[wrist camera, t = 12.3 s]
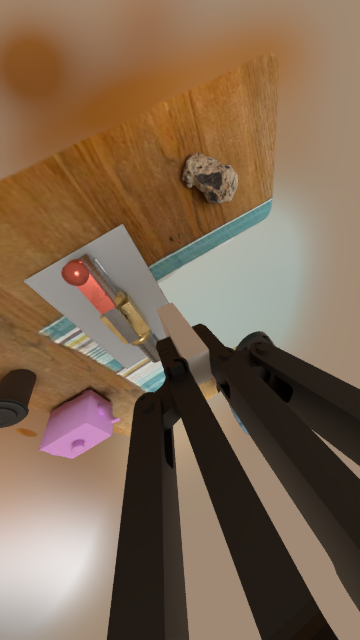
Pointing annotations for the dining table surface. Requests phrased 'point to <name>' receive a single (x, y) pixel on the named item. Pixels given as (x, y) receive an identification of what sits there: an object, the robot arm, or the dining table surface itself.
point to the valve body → (125, 312)
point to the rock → (210, 177)
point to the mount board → (124, 275)
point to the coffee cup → (15, 396)
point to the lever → (98, 296)
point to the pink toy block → (78, 425)
